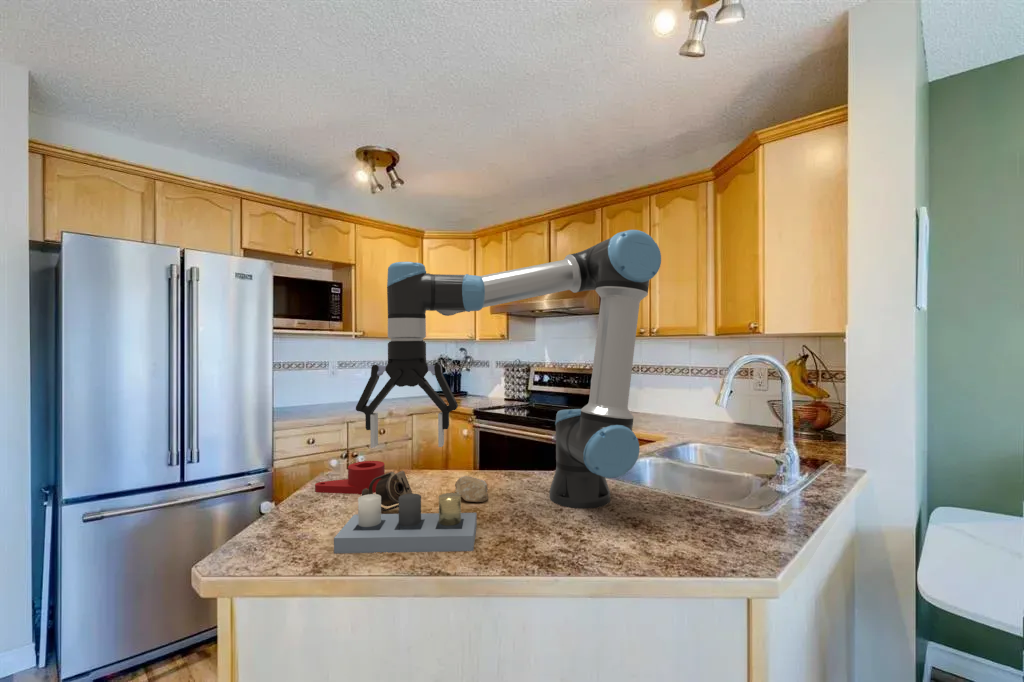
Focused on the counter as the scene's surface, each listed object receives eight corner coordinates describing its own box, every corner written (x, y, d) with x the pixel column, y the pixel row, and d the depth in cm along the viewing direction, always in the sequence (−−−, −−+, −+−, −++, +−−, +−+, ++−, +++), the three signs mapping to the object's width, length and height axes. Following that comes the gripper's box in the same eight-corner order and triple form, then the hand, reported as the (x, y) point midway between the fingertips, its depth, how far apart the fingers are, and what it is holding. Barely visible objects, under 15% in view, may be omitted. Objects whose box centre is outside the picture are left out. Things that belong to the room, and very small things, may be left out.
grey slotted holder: (476, 526, 100) (476, 512, 100) (473, 551, 88) (473, 535, 88) (354, 528, 99) (354, 514, 99) (334, 554, 87) (333, 538, 87)
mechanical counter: (401, 522, 103) (401, 476, 103) (348, 518, 105) (348, 473, 105) (415, 510, 110) (414, 468, 110) (365, 507, 112) (364, 465, 112)
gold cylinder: (461, 517, 96) (461, 492, 96) (460, 525, 92) (459, 499, 92) (440, 517, 96) (440, 493, 96) (437, 525, 92) (437, 500, 92)
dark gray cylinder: (422, 517, 96) (422, 493, 96) (419, 526, 92) (418, 500, 92) (401, 518, 96) (401, 493, 96) (396, 526, 91) (396, 500, 91)
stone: (486, 492, 124) (487, 475, 125) (487, 503, 114) (489, 485, 114) (454, 490, 124) (456, 472, 124) (453, 501, 113) (455, 482, 113)
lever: (386, 483, 132) (386, 460, 132) (381, 494, 122) (381, 469, 122) (320, 486, 129) (320, 462, 129) (309, 498, 120) (309, 472, 120)
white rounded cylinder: (383, 518, 96) (383, 493, 96) (377, 526, 91) (377, 501, 91) (362, 518, 96) (361, 494, 96) (355, 527, 91) (355, 501, 91)
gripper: (470, 339, 98) (470, 441, 98) (351, 340, 98) (352, 442, 98) (467, 339, 91) (468, 449, 91) (338, 340, 90) (339, 450, 90)
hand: (407, 446), depth 94 cm, fingers open, 13 cm apart
